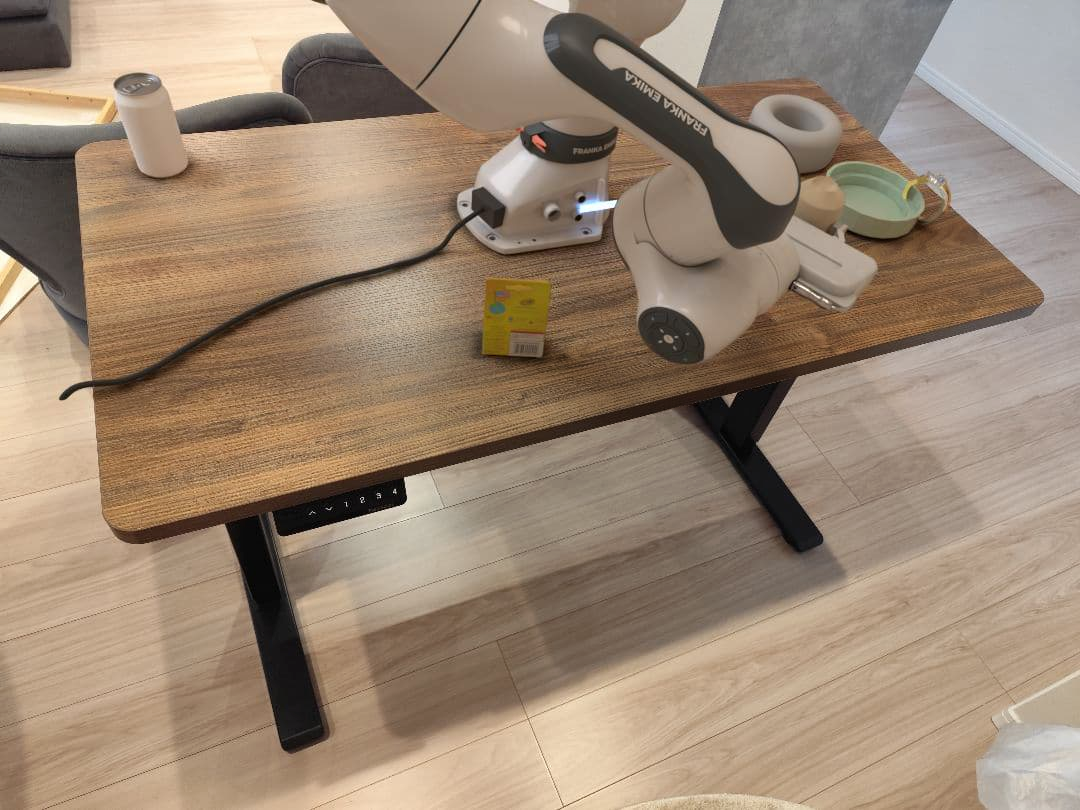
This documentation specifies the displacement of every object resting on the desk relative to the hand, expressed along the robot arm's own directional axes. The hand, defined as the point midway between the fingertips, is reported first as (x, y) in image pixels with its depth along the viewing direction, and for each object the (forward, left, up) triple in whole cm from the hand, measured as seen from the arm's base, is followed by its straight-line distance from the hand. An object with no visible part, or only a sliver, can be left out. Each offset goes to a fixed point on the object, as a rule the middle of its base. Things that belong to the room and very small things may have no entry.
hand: (813, 213), depth 84 cm
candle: (-1, 0, -6) cm, 6 cm away
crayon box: (-33, +9, -17) cm, 38 cm away
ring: (+38, +6, -16) cm, 42 cm away
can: (-60, +60, -17) cm, 87 cm away
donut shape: (+32, +29, -16) cm, 46 cm away
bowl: (+32, +11, -16) cm, 37 cm away
